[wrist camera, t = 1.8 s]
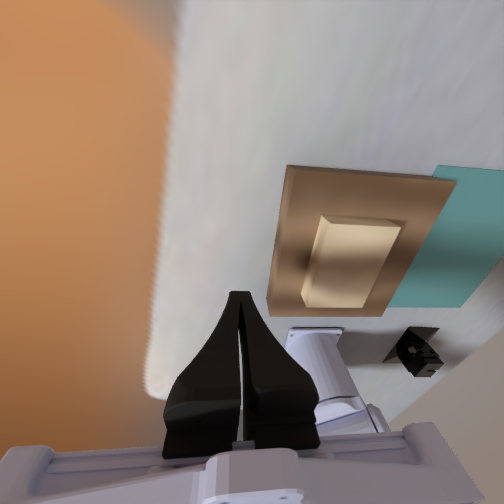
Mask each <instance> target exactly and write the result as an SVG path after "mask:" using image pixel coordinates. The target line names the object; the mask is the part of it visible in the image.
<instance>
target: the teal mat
mask: <svg viewBox="0 0 504 504" xmlns="http://www.w3.org/2000/svg"><path fill="white" fill-rule="evenodd" d="M432 177H435V178H440V179H445V180H450V181H455V182H457V184H456V186H455V188H454V189H453V191H452V193H451V195H450V196H449V198H448V200H447V202H446V203H445V205H444V207H443V209H442V210H441V212H440V214H439V216H438V218H437V219H436V221H435V223H434V225H433V226H432V228H431V230H430V232H429V233H428V235H427V237H426V239H425V241H424V242H423V244H422V246H421V248H420V249H419V251H418V253H417V255H416V256H415V258H414V260H413V262H412V263H411V265H410V267H409V269H408V271H407V272H406V274H405V276H404V278H403V279H402V281H401V283H400V285H399V286H398V288H397V290H396V292H395V293H394V295H393V297H392V299H391V301H390V302H389V304H388V306H387V307H448V308H461V306H462V305H463V304H464V303H465V301H466V300H467V299H468V298H469V297H470V295H471V294H472V293H473V292H474V290H475V289H476V288H477V287H478V286H479V284H480V283H481V282H482V281H483V279H484V278H485V277H486V276H487V275H488V273H489V272H490V271H491V270H492V268H493V267H494V266H495V265H496V264H497V262H498V261H499V260H500V259H501V257H502V256H503V255H504V171H500V170H488V169H476V168H465V167H453V166H441V165H438V166H437V168H436V170H435V172H434V174H433V176H432Z"/></svg>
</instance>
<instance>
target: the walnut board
mask: <svg viewBox="0 0 504 504" xmlns="http://www.w3.org/2000/svg"><path fill="white" fill-rule="evenodd" d="M456 184H457V182H455V181H450V180H445V179H440V178H435V177H430V176H422V175H409V174H396V173H384V172H371V171H359V170H346V169H333V168H321V167H308V166H295V165H287V166H286V173H285V180H284V186H283V193H282V199H281V206H280V212H279V219H278V225H277V232H276V239H275V245H274V252H273V258H272V265H271V271H270V278H269V284H268V291H267V297H266V299H267V305H268V310H269V315H270V316H273V317H381V316H382V315H383V313H384V311H385V309H386V308H387V306H388V304H389V302H390V301H391V299H392V297H393V295H394V293H395V292H396V290H397V288H398V286H399V285H400V283H401V281H402V279H403V278H404V276H405V274H406V272H407V271H408V269H409V267H410V265H411V263H412V262H413V260H414V258H415V256H416V255H417V253H418V251H419V249H420V248H421V246H422V244H423V242H424V241H425V239H426V237H427V235H428V233H429V232H430V230H431V228H432V226H433V225H434V223H435V221H436V219H437V218H438V216H439V214H440V212H441V210H442V209H443V207H444V205H445V203H446V202H447V200H448V198H449V196H450V195H451V193H452V191H453V189H454V188H455V186H456ZM321 215H328V216H346V217H365V218H383V219H387V220H389V221H391V222H392V223H394V224H396V225H398V226H400V227H401V229H400V231H399V233H398V235H397V237H396V239H395V241H394V243H393V245H392V247H391V249H390V251H389V254H388V256H387V258H386V260H385V262H384V264H383V266H382V268H381V270H380V272H379V274H378V276H377V278H376V280H375V282H374V285H373V287H372V289H371V291H370V293H369V295H368V297H367V299H366V301H365V303H364V305H363V307H362V308H316V307H306V305H305V303H304V301H303V298H302V296H301V291H302V287H303V283H304V280H305V276H306V272H307V268H308V264H309V260H310V257H311V253H312V249H313V245H314V241H315V238H316V234H317V230H318V226H319V222H320V219H321Z"/></svg>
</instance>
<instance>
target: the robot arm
mask: <svg viewBox="0 0 504 504" xmlns="http://www.w3.org/2000/svg"><path fill="white" fill-rule="evenodd" d="M238 330H239V335H240V344H241V354H242V367H243V441H237V431H238V425H239V416H240V407H241V382H240V364H239V341H238ZM341 334H342V330H341V329H340V328H303V329H290V330H289V333H288V337H287V341H286V345H285V349H284V348H283V347H282V346H281V345H280V343H279V342H278V341H277V340H276V338H275V337H274V336H273V334H272V333H271V331H270V330H269V329H268V327H267V325H266V324H265V322H264V321H263V319H262V317H261V315H260V313H259V312H258V310H257V308H256V306H255V303H254V301H253V299H252V296H251V293H250V292H249V291H231V292H229V298H228V301H227V304H226V307H225V309H224V311H223V314H222V316H221V318H220V320H219V322H218V324H217V326H216V328H215V329H214V331H213V333H212V334H211V336H210V337H209V339H208V340H207V342H206V343H205V345H204V346H203V348H202V349H201V350H200V352H199V353H198V354H197V355H196V357H195V358H194V359H193V360H192V362H191V363H190V364H189V365H188V366H187V367H186V368H185V369H184V371H183V372H182V373H181V374H180V375H179V376H178V377H177V379H176V381H175V383H174V385H173V387H172V389H171V391H170V393H169V396H168V399H167V402H166V406H165V409H164V413H163V418H164V422H165V425H166V428H167V434H166V438H165V442H164V446H158V447H157V446H156V447H140V448H125V449H108V450H93V451H77V452H61V453H54V451H53V449H52V448H50V447H48V446H44V445H36V446H19V447H12V448H10V449H9V450H8V452H7V453H6V454H5V456H4V457H3V458H2V460H1V461H0V504H476V503H479V502H482V501H484V500H485V497H484V495H483V494H482V493H481V491H480V490H479V488H478V487H477V485H476V484H475V482H474V481H473V479H472V478H471V477H470V475H469V474H468V472H467V471H466V470H465V468H464V466H463V465H462V463H461V462H460V461H459V459H458V458H457V456H456V455H455V453H454V452H453V450H452V449H451V448H450V446H449V445H448V443H447V442H446V440H445V439H444V437H443V436H442V435H441V433H440V432H439V430H438V429H437V427H436V426H435V425H434V423H432V422H424V423H412V424H408V425H406V426H405V427H404V428H403V429H402V431H395V432H394V431H393V432H391V430H390V428H389V426H388V424H387V422H386V420H385V419H384V417H383V415H382V413H381V411H380V409H379V408H377V407H375V406H373V404H371V403H370V404H367V406H366V405H365V403H364V402H363V400H362V398H361V396H360V394H359V392H358V390H357V388H356V386H355V384H354V382H353V380H352V378H351V376H350V374H349V371H348V369H347V367H346V365H345V363H344V361H343V359H342V357H341V355H340V353H339V351H338V349H337V346H336V345H337V343H338V341H339V338H340V336H341Z"/></svg>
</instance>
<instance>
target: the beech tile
mask: <svg viewBox="0 0 504 504" xmlns="http://www.w3.org/2000/svg"><path fill="white" fill-rule="evenodd" d="M400 229H401V227H400V226H398V225H396V224H394V223H392V222H391V221H389V220H387V219H383V218H365V217H346V216H328V215H321V219H320V222H319V226H318V230H317V234H316V238H315V241H314V245H313V249H312V253H311V257H310V260H309V264H308V268H307V272H306V276H305V280H304V283H303V287H302V291H301V296H302V298H303V301H304V303H305V305H306V307H316V308H362V307H363V305H364V303H365V301H366V299H367V297H368V295H369V293H370V291H371V289H372V287H373V285H374V282H375V280H376V278H377V276H378V274H379V272H380V270H381V268H382V266H383V264H384V262H385V260H386V258H387V256H388V254H389V251H390V249H391V247H392V245H393V243H394V241H395V239H396V237H397V235H398V233H399V231H400Z"/></svg>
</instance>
